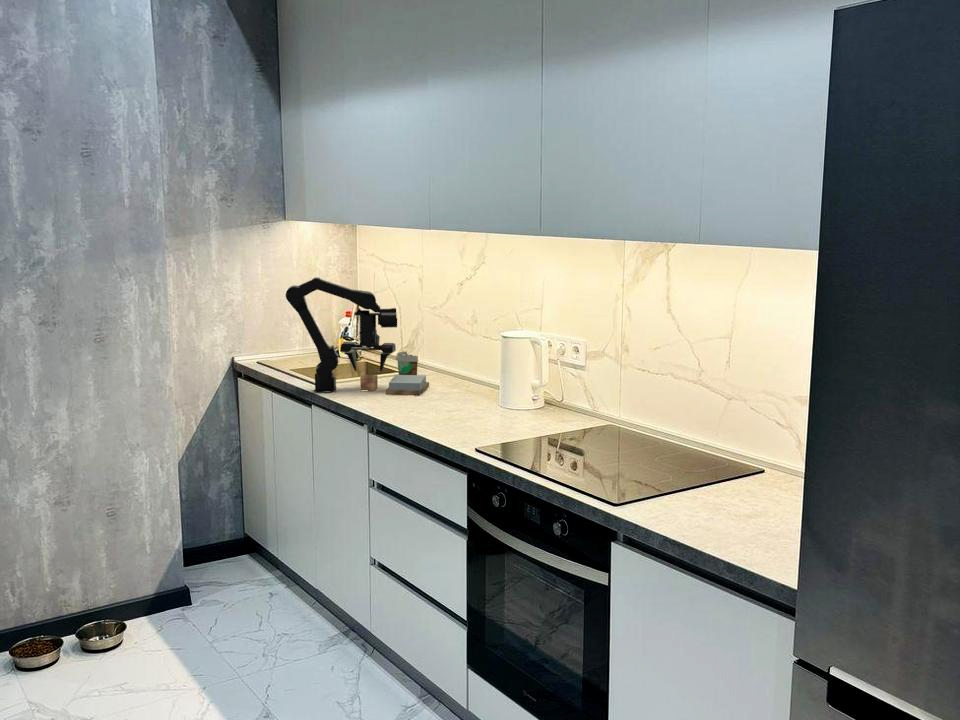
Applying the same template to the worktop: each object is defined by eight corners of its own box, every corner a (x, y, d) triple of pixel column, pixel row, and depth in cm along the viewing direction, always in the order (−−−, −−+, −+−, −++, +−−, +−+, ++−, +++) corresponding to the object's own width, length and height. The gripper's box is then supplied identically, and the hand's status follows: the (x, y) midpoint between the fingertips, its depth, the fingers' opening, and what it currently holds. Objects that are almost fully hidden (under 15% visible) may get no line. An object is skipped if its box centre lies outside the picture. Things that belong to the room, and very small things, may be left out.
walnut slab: (385, 396, 340) (385, 389, 340) (396, 387, 356) (396, 381, 355) (419, 397, 338) (419, 390, 338) (429, 389, 354) (429, 382, 353)
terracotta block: (360, 391, 346) (360, 377, 346) (363, 388, 351) (363, 374, 350) (374, 391, 346) (374, 377, 345) (377, 388, 351) (377, 375, 350)
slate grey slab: (388, 389, 340) (388, 382, 339) (395, 381, 354) (395, 374, 354) (420, 390, 339) (420, 383, 338) (425, 382, 354) (425, 375, 353)
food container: (391, 378, 370) (390, 352, 369) (406, 377, 373) (406, 351, 371) (402, 384, 359) (402, 357, 358) (418, 382, 362) (418, 355, 360)
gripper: (398, 325, 352) (399, 368, 354) (347, 324, 354) (348, 366, 356) (392, 329, 341) (392, 373, 343) (339, 328, 343) (340, 372, 346)
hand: (368, 371), depth 347 cm, fingers open, 9 cm apart
